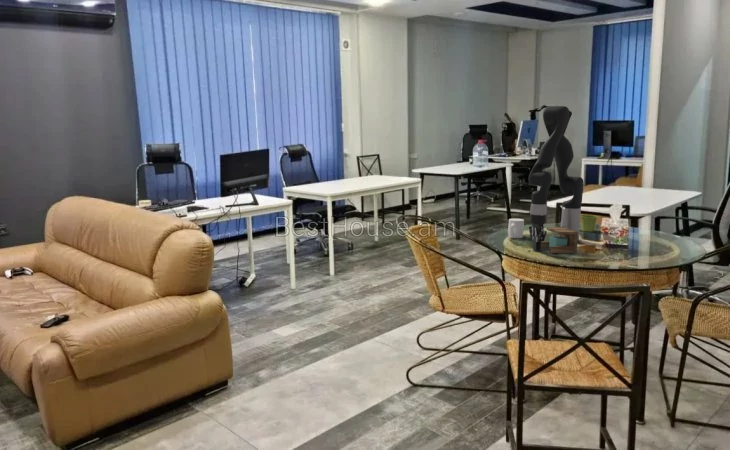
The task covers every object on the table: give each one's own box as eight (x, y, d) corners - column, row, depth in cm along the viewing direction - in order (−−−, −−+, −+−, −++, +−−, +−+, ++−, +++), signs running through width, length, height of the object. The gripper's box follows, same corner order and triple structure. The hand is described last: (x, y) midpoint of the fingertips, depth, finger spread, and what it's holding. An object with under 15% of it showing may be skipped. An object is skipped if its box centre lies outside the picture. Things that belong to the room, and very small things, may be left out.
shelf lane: (538, 247, 275) (539, 227, 273) (562, 246, 277) (563, 226, 276) (551, 253, 263) (552, 232, 261) (576, 252, 265) (577, 231, 263)
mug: (512, 217, 307) (526, 219, 303) (511, 234, 309) (525, 235, 305) (504, 220, 298) (519, 222, 293) (503, 238, 299) (518, 239, 295)
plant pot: (575, 230, 321) (576, 215, 319) (589, 229, 323) (590, 214, 322) (586, 233, 312) (587, 217, 310) (600, 232, 315) (601, 216, 313)
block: (531, 249, 271) (531, 235, 270) (560, 248, 274) (561, 234, 272) (537, 252, 265) (538, 237, 264) (566, 250, 268) (567, 236, 267)
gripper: (524, 211, 271) (522, 246, 274) (538, 215, 257) (536, 252, 261) (538, 210, 272) (536, 245, 275) (553, 215, 259) (551, 251, 262)
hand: (536, 248), depth 268 cm, fingers closed on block, 2 cm apart
